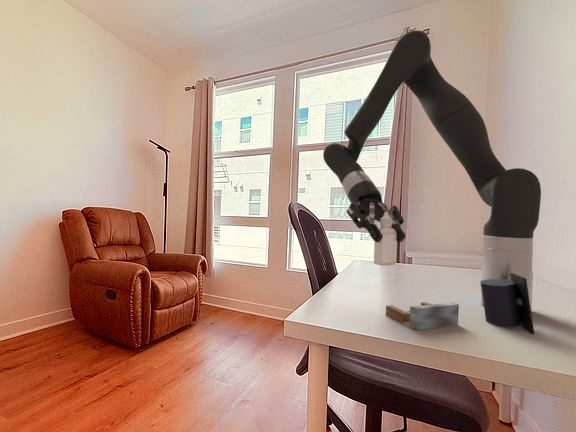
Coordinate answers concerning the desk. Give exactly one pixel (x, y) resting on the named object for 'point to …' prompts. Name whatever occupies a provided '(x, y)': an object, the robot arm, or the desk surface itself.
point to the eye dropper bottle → (386, 243)
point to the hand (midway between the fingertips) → (391, 239)
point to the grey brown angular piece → (425, 315)
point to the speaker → (507, 302)
